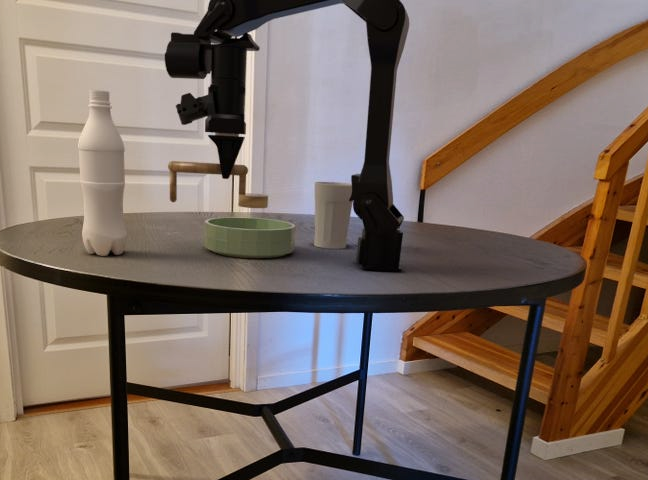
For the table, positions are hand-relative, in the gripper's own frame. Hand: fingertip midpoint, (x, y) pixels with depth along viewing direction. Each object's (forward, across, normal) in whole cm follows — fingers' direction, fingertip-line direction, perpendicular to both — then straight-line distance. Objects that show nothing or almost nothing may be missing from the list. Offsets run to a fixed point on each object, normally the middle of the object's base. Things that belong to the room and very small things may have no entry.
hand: (225, 178), depth 107 cm
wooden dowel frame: (+5, 0, -1) cm, 5 cm away
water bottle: (+13, +8, -20) cm, 25 cm away
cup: (+13, -11, +21) cm, 27 cm away
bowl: (+13, -1, +5) cm, 13 cm away
